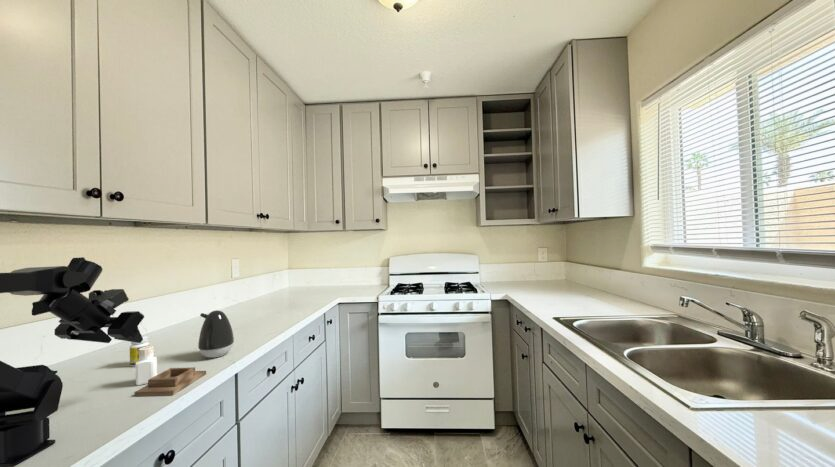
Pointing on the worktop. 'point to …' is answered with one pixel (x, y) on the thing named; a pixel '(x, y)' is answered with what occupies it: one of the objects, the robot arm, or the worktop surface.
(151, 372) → the pepper shaker
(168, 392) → the stand
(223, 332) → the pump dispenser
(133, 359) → the supplement bottle
